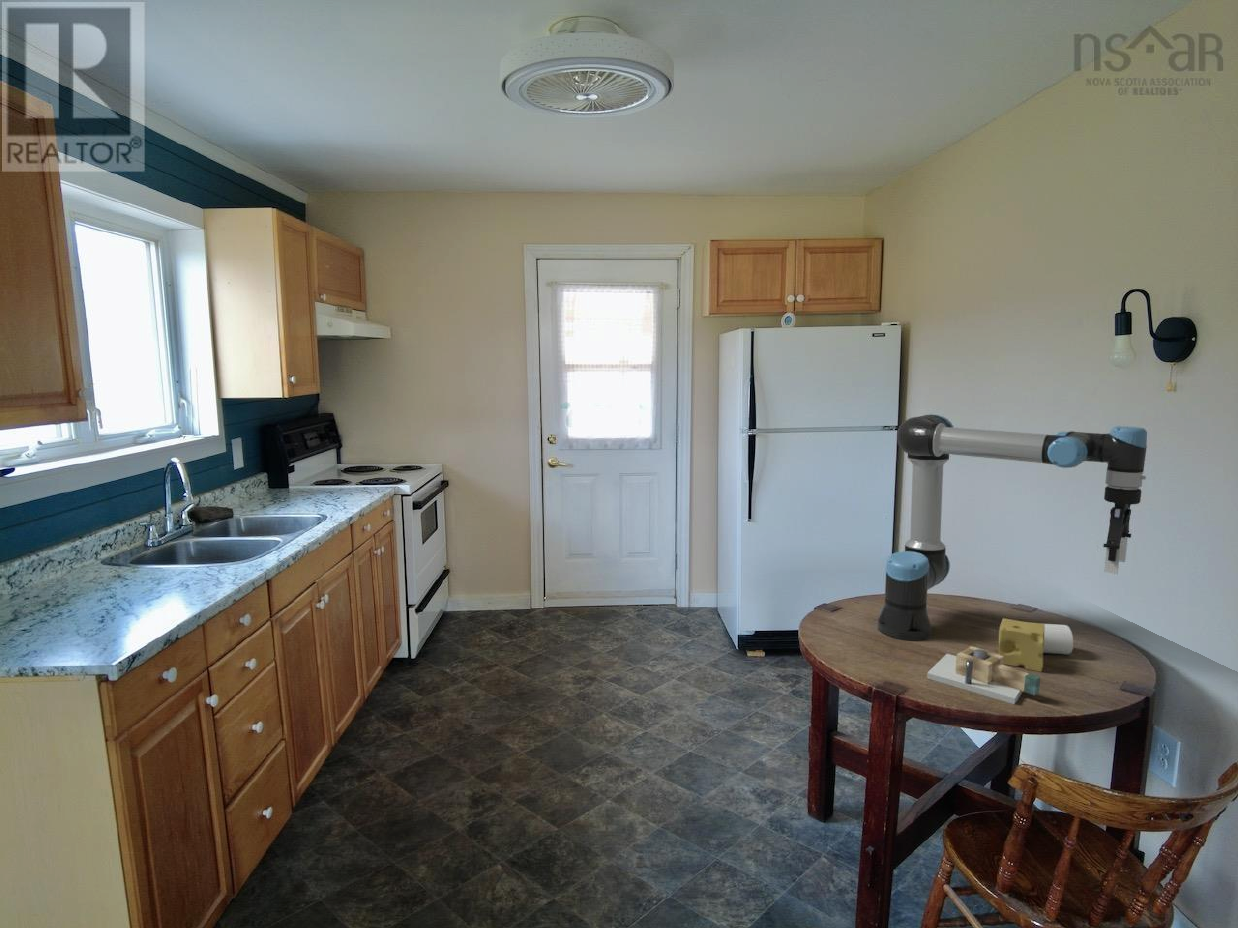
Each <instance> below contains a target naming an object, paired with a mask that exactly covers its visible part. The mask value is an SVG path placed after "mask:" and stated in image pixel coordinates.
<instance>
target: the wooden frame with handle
mask: <svg viewBox="0 0 1238 928" xmlns="http://www.w3.org/2000/svg"><path fill="white" fill-rule="evenodd" d="M977 649H978V650H983V651H986V652H987V659H986V660H982V659H979V658H976V657H973V654H974V650H977ZM956 656H957V657H956V671H955V673H958V674H961V675H964V676H966V664H967V661H971V662H973V670H972V679H975V680H978V681H980V682H983V683H986V684H989V683H990V682H992V681H995V682H998V683H1001V684H1004V685H1007V686H1009V687H1012V688H1015V689H1018V690H1021V691H1023V693H1027V694H1029V695H1032V696H1036V695H1038V694H1039V693H1040V681H1041V676H1039V675H1036V674H1033V673H1031V672H1029V673H1028V672H1025V671H1023V670H1020V669H1018V668H1017V669H1016V668H1014V667H1012V666H1009V665H1005V664H1003V661H1004V656H1001V655H999V653H998V654H997V653H994V652H992V651H988V650H985V649H982V648H979V647H976V646H972V645H971V646H969V647H967V648H966V649H964V650H962V651H960V652H958V653H957V654H956Z"/></svg>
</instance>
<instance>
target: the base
mask: <svg viewBox="0 0 1238 928" xmlns="http://www.w3.org/2000/svg"><path fill="white" fill-rule="evenodd" d="M983 650H984V649H982V650H978V649H977V650H974V654H973V657H976V658H979V659H982V660H986V659H987V652H986V651H987V650H985V651H983ZM956 657H957V655H955V654H954V655H953V654H950V653H946V654H945V655H944V656H943V657H942V658H941V659H940V660H939V661H938V662H937V663H936V664H934V665H933V667H932V668H931V669H930V670H928V672H927V673H926V679H928V680H932V681H935V682H938V683H941V684H944V685H949V686H952V687H954V688H958V689H961V690H965V691H968V692H972V693H974V694H979V695H982V696H985V697H988V698H992V699H994V700H998V701H1001V702H1004V703H1008V704H1012V705H1015V704H1017V702H1018V700H1019V699H1020V697H1021V696H1022V694H1023V693H1024V691H1021V690H1018V689H1015V688H1012V687H1009V686H1007V685H1004V684H1001V683H998V682H995V681H992V682H990V683H989V684H986V683H983V682H980V681H978V680H975V679H972V684H966V683H965V678H966V676H964V675H961V674H958V673H955V671H956Z"/></svg>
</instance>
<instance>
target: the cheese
mask: <svg viewBox="0 0 1238 928" xmlns="http://www.w3.org/2000/svg"><path fill="white" fill-rule="evenodd" d="M1044 624H1045V623H1039V622H1028V621H1023V620H1022V621H1020V620H1015V619H1009V618H1004V617H1003V618H1002V619H1001V623H1000V626H999V628H998V629H999V631H998V655H1001V656H1004V661H1003V665H1005V666H1009V667H1023V668H1025V669H1026V670H1031V671H1034V672H1039V673H1041V672H1042V671H1043V668H1044V653H1043V650H1044V629H1045V625H1044Z"/></svg>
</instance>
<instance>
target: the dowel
mask: <svg viewBox="0 0 1238 928" xmlns="http://www.w3.org/2000/svg"><path fill="white" fill-rule="evenodd" d="M972 670H973V662H971V661H967V664H966V678H965V683H966V684H972Z"/></svg>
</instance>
